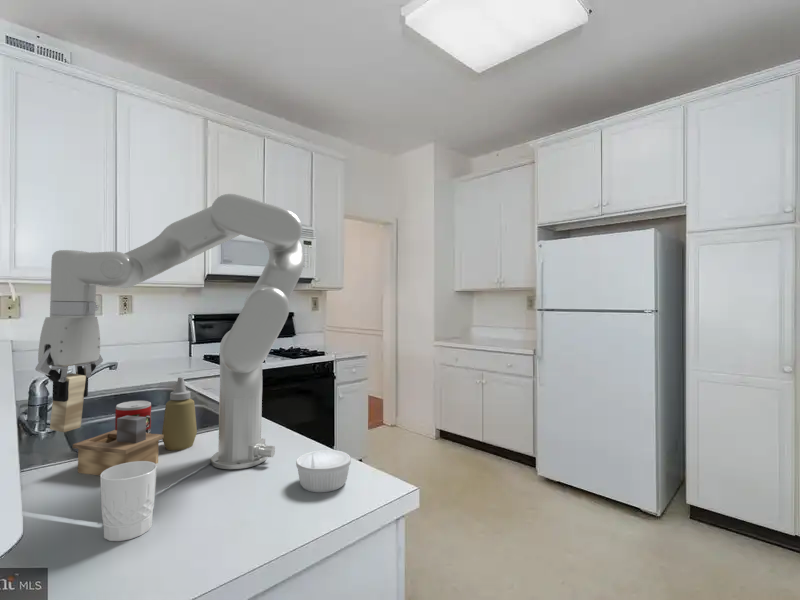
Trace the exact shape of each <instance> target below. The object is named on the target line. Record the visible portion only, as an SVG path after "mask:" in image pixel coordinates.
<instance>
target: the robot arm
mask: <svg viewBox="0 0 800 600" xmlns="http://www.w3.org/2000/svg"><path fill="white" fill-rule="evenodd" d="M302 225H303V224H302V222H301V220H300V219H299V217H298V216H297V215H296V214H295V213H294V212H292V211H291V210H288V209H287V208H286V209H285V208H283V207H281V206H277V205H274V204H270V203H267V202H264V201H260V200H256V199H253V198H250V197H247V196H245V195H241V194H237V193H226V194H223V195H220V196H218V197H217V198H216V199H215V200H213V203H212V205H211V206H209V207H206V208H204V209H202V210H199V211H197V212H195V213H193V214H190V215H188V216H185V217H184V218H181V219H179V220H176V221H174V222H172V223H170V224H169V225H168V226H166V227H165V228H164V229H163V231H161V232H160V234H158V236H156V237H155V238H153V239H152V240H150V241H148V242H147V243H145V244H143V245H140V246H139V247H138V246H137V247H135V248H133V249H131V250H129V251H127V252H125V253H123V252H120V251H115V250H114V251H98V252H97V251H95V252H94V251H93V252H92V251H91V252H89V251H83V250H73V249H70V250H69V249H62V250H61V249H59V250H55V251H54V252H53V254H52V255H51V261H50V262H51V267H50V298H49V299H50V300H49V301H50V302H49V317H48V316H45V319H44V321H43V324H42V328H41V332H40V337H39V342H38V343H39V345H38V351H37V352H38V354H37V360H38V361H37V362H38V363H37V365H36V366H35V368H34V369H35V371H36V372H38V373H40V374H42V375H44V376H46V377H47V378H48V380H49V381H50V382H52V402H53V401H61V402H65V401H68V394H69V391H68V382H67V381H66V377H67V374H68V369H69V367H73V366H74V370H75V374H79V375H84V376H86V381H85V389H84V398H87V397H88V396H89V378H91V377H92V373H93V372H94V370H95V369H96V368H97V367H98V366H99V365H100V364H102V363H103V361H104V359H103V357H102V355H101V334H100V326H99V320H98V317H97V316H96V312H97V311H98V310H99V305H97V303H96V301H97V297H96V296H97V286H102V287H103V286H104V287H109V288H118V289H119V288H120V289H123V288H124V289H125V288H131V287H134V286H137V285H139V284H141V283H143V282H145V281H147V280H149V279H151V278H153V277H155V276H158V275H160V274H162V273H164V272H166V271H168V270H170V269H171V268H174V267H176V266H179V265H180V264H182V263H185V262H187V261H189V260H190V259H193V258H195V257H197V256H199V255H201V254H203V253H205V252H207V251H208V250H211V249H213V248H215V247H218V246H219V245H222V244H224V243H226V242H228V241H230V240H231V241H232V240H233V239H235V238H237V237H239V236H243V237H244V236H245V237H247V238H252V239H256V240H259V241H262V242H264V244H265V245H266V247H267V249H268V255H269V256H268V260H267V263H266V265H265V267H264V268H263V271H262V273H261V274H260V276H259V278H258V279H257V281H256V283H255V284H254V286H253V288H252V289H251V291H250V292H249V294H248V295H247V296H246V298H245V301H244V304H243V307H242V308H241V310H240V312H239V315H238V316H237V317H236V320H235V321H234V323H233V326H232V327H231V329H230V330H229V331H227V332H226V333H225V334H224V336H223V337H222V339H221V341H220V345H219V397H218V398H219V400H218V401H219V402H218V403H219V404H218V405H219V406H218V450H217V452H215V453H214V454H212V456H211V457H210V463H211V464H210V465H212V466H213V467H215V468H218V469H222V470H242V469H247V468H248V469H249V468H251V467H255V466H258V465H260V464H262V463H263V462H265V461H266V460H267V459H268V458H274V457H275V453H276V447H275V445H267V444H266V438H262V415H263V413H262V411H263V407H262V406H263V404H262V403H263V401H262V400H263V363H264V361H265V360H266V359H267V357H268V355H269V353H270V351H271V350H272V348H273V346H274V344H275V343H276V341H277V338H278V337H279V335H280V334H281V331H282V329H283V328H284V325H285V324H286V322H287V320H288V317H289V314H290V302H289V300H290V297H291V296H292V293H293V292H294V289H295V287H296V286H297V284H298V281H299V280H300V277H301V275H302V273H303V268H304V266H305V265H304V263H305V256H304V249H303V245H302V243H301V241H300V239H301V237H302V235H303V226H302Z"/></svg>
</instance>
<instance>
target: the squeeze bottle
mask: <svg viewBox="0 0 800 600" xmlns="http://www.w3.org/2000/svg"><path fill="white" fill-rule="evenodd" d="M191 392H192V391H190V390H187V387H186V383H185V380H184V377H183V376H181V377H178V378H177V382H176V385H175V389H174V391H171V392H170V393H169V400H168V401H166V403H165V407H164V408H165V409H164V415H163V421H162V422H163V425H162V430H161V435H164V438H163V439H162V443H163V444H164V447H165V449H166V450H168V451H174V452H175V451H181V450H183V451H184V450H187V449H190V448H191V447H193V445H194V443H195V439H196V437H197V433H198V429H197V428H198V427H197V418H196V406H195V405H196V403H195V400H193V399H192V398H191Z"/></svg>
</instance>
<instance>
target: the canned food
mask: <svg viewBox="0 0 800 600" xmlns="http://www.w3.org/2000/svg"><path fill="white" fill-rule="evenodd" d="M114 414H115V416H114V417H115V418H114V419H115V420H114V426H115V428H114V430H117V418H120V417H124V416H127V415H128V416H139V417H146V433H151V432H152V430H151V429H152V425H151V424H152V402H151V401H148V400H129V401H123V402H121V403H118V404H116V405H115V412H114ZM151 434H152V433H151Z"/></svg>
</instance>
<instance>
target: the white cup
mask: <svg viewBox="0 0 800 600" xmlns="http://www.w3.org/2000/svg"><path fill="white" fill-rule="evenodd" d="M157 470H158V464H157V463H156V464H155V463H153V462H149V461H135V462H128V463H123V464H119V465H115V466H113V467H110V468H108V469H106V470H104V471H103V472H102V473H101V475H99V476H100V477H99V479H100V503H101V518H102V519H101V520H102V524H103V538H104V539H105V540H107V541H109V542H123V541H129V540H132V539H135V538H138V537H140V536H142V535H144V534H146V532H148V531H150V529H151V527H152V526H153V516H154V515H153V514H154V513H153V512H154V511H153V510H154V507H155V497H156V486H157V473H158V472H157Z"/></svg>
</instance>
